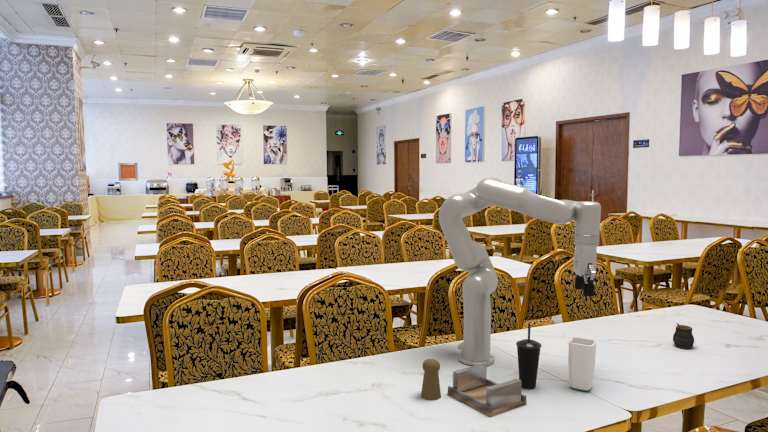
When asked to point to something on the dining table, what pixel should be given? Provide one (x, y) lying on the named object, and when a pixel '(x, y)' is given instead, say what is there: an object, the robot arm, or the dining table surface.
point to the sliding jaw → (470, 377)
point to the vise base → (482, 398)
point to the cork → (431, 380)
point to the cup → (581, 363)
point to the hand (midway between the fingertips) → (583, 292)
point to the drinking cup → (528, 361)
